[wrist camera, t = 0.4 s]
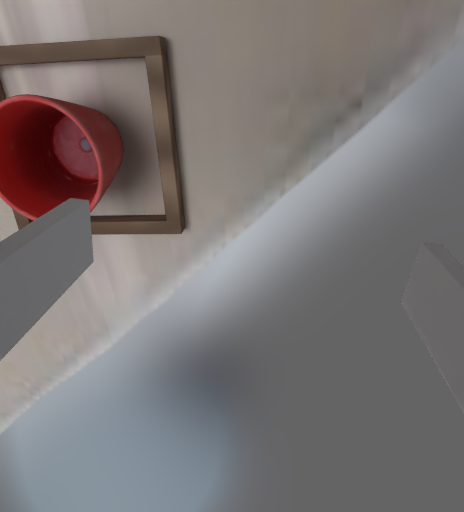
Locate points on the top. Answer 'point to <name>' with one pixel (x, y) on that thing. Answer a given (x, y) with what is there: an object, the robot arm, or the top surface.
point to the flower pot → (54, 153)
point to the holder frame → (162, 117)
